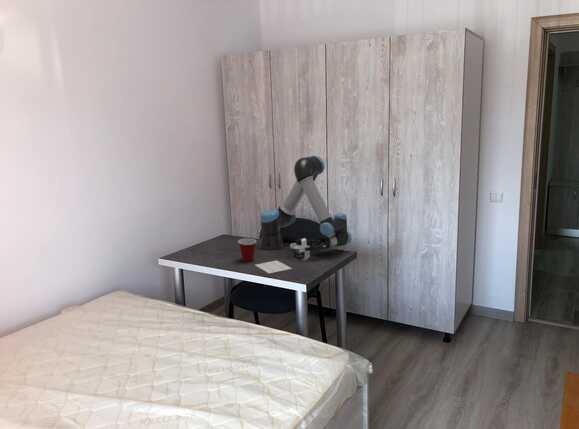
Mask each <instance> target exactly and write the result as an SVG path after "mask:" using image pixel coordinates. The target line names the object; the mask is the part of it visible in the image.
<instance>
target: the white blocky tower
mask: <svg viewBox="0 0 579 429" xmlns="http://www.w3.org/2000/svg"><path fill="white" fill-rule="evenodd" d="M307 240H308V239H307V238H305V237H298V238H296V239H295V243H296V247H294V248H293V260H296V261H303V262H305V261H307V260H308V259H309V258H311V251H306V252H301V253H300V252H299V248H301V247H306V246H307Z"/></svg>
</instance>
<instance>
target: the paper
mask: <svg viewBox="0 0 579 429" xmlns="http://www.w3.org/2000/svg"><path fill="white" fill-rule="evenodd" d="M254 266H255V267H256V268H258V269H260V270H262V271H263V272H265V273H266V274H274V273H279V272H283V271H287V270H288V271H289V270H292V267H290V266H288V265H286V264H285V263H282V262H281V261H279V260H277V259H275V260H272V261H267V262H262V263H257V264H254Z"/></svg>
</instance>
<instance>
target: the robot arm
mask: <svg viewBox="0 0 579 429" xmlns="http://www.w3.org/2000/svg"><path fill="white" fill-rule="evenodd" d="M325 166H326V165H325V163H324V160H323V158H322V157H320V156H318V155H310V156H307V157H301V158H299V159H297V161H295V164H294V167H293V168H294V169H293V172H294V176H295V179H296V180H295V182H294V184H293V186H292V187H291V190H290V191H289V193H288V195H287V197H286V199H285V200H284V202H281V204H279V206H278V207H277V209H274V208H271V209H266V210H264V211H262V212H261V213H260V229H261V238H260V242H259V248H260V250H263V251H265V250H266V251H272V250H273V251H274V250H279V249H282V248H283V247H284V242H283V239H282V237H281V233H280V232H281V230H280V229H281V228H285V227H288V226H291V225H292V224H293V223H294V222H296V219H297V218H296V217H297V216H296V213H297V210H296V209H297V208H298V206H299V204H300V202H301V201H302V200H303V197H304V195H306V197H307V200H308V201H309V203H310V206H311V207H312V210H313V211H314V214H315V216H316V218H317V219H318V222H319V224H320V225H319V232H320V233H321V234H322V236H320V237H319V238H318V239H314V238H313V239H306V240H307V246H306V247H301V248H299V252H300V253H301V252H306V251H310V252H316V251H320V250H325V249H333V248H335V247H341V246H346V245H350V244H351V242H352V234H351V233H350V232H349V231H348V217H347V214H346V213H342V212H340V213H335V214H334V215H333V216H334V217H332V215H331V213H330V212H329V210H328V208H327V205H326V204H325V201H324V200H323V197H322V195H321V193H320V191H319V189H318V187H317V185H316V183H315V181H316V179H317V178H318V176H319V175H322V173H323V172H324V170H325V168H326V167H325ZM289 246H290V247H289V248H290V249H294V247H296V242H293V243H290V245H289Z"/></svg>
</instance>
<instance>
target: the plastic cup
mask: <svg viewBox="0 0 579 429" xmlns="http://www.w3.org/2000/svg"><path fill="white" fill-rule="evenodd" d="M237 243H238V245H239V248H240V253H241V257H242V260H243V262H246V263H247V262H248V263H250V262H253V261H254V256H255V248H256V243H257V240H256V239H254V238H242V239H241V238H240V239H238V240H237Z"/></svg>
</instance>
